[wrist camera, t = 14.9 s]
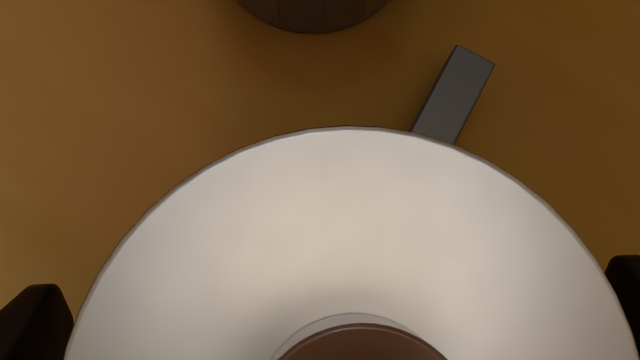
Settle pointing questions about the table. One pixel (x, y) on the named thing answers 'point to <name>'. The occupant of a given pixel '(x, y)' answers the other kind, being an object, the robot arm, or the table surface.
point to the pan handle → (453, 95)
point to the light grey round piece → (351, 262)
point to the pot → (313, 13)
